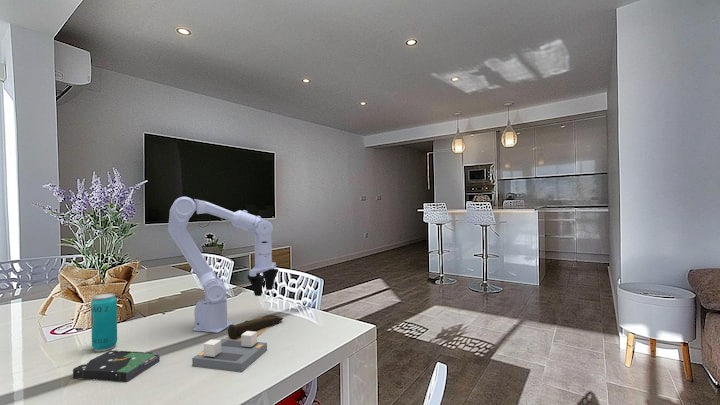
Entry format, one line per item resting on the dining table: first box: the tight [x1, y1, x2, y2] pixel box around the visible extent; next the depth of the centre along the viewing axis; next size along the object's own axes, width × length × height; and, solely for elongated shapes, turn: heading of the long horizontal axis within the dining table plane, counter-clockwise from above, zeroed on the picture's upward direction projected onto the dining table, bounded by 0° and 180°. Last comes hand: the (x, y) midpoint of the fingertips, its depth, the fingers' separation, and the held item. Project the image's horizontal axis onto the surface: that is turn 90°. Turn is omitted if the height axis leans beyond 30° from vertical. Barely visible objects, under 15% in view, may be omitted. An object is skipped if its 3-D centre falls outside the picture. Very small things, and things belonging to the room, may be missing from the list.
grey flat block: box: [191, 338, 268, 373], centre depth 88 cm, size 14×12×2 cm
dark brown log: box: [227, 314, 284, 340], centre depth 107 cm, size 19×4×5 cm
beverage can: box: [90, 292, 118, 353], centre depth 95 cm, size 6×6×15 cm
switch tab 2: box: [241, 331, 258, 347], centre depth 91 cm, size 3×3×3 cm
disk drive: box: [72, 349, 161, 383], centre depth 83 cm, size 10×3×15 cm
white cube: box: [203, 339, 221, 357], centre depth 85 cm, size 3×3×3 cm
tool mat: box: [224, 315, 272, 340], centre depth 107 cm, size 9×23×1 cm, turn 167°
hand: (263, 292), depth 116 cm, fingers open, 7 cm apart
